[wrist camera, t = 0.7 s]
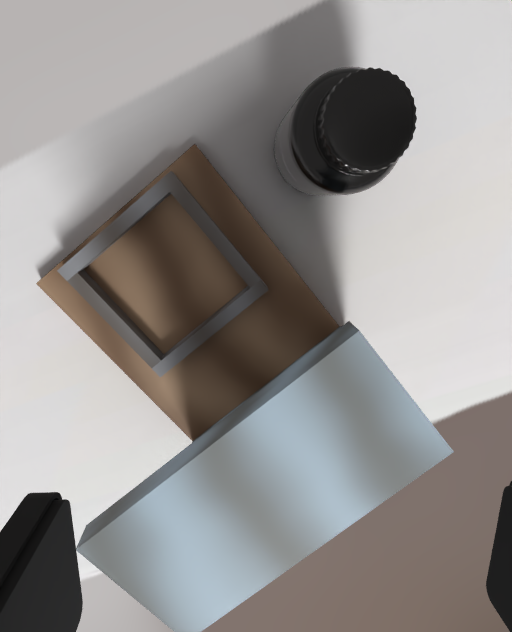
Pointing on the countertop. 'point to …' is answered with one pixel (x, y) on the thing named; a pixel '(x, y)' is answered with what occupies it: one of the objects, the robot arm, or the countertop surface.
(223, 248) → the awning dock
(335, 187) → the supplement bottle
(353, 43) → the countertop surface
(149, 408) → the countertop surface
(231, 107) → the countertop surface
